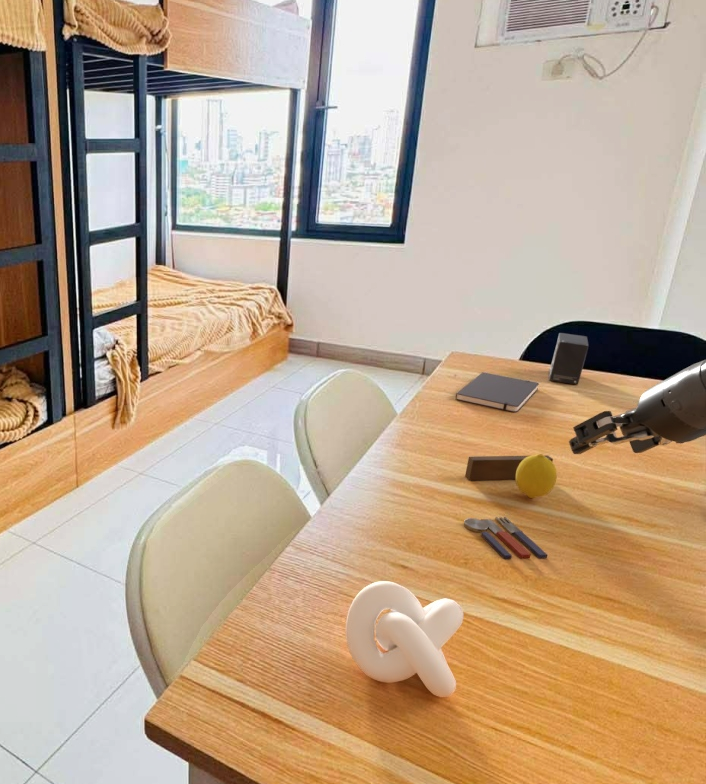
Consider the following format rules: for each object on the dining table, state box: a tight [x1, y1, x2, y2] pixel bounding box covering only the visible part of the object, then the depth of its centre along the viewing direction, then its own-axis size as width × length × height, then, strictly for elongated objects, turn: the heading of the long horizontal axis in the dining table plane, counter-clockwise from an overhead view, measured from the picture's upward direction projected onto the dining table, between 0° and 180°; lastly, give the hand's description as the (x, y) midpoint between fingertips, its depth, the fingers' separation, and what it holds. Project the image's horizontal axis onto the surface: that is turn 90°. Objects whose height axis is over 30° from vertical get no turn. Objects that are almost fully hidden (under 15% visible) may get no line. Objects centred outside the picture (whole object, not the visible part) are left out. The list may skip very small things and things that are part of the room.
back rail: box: [464, 454, 554, 481], centre depth 110 cm, size 14×2×4 cm, turn 91°
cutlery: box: [463, 516, 549, 560], centre depth 93 cm, size 10×8×1 cm
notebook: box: [455, 371, 540, 413], centre depth 150 cm, size 13×2×21 cm
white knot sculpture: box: [345, 580, 465, 699], centre depth 67 cm, size 11×12×9 cm
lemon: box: [515, 453, 557, 499], centre depth 103 cm, size 6×6×8 cm
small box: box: [548, 332, 589, 385], centre depth 159 cm, size 11×6×10 cm, turn 147°
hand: (603, 447), depth 88 cm, fingers open, 8 cm apart
